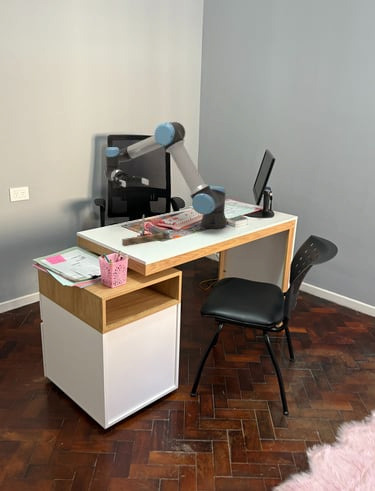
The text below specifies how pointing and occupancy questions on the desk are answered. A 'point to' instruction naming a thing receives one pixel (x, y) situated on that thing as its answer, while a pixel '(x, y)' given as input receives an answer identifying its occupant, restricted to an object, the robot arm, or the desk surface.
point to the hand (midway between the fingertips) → (136, 183)
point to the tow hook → (143, 229)
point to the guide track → (147, 236)
